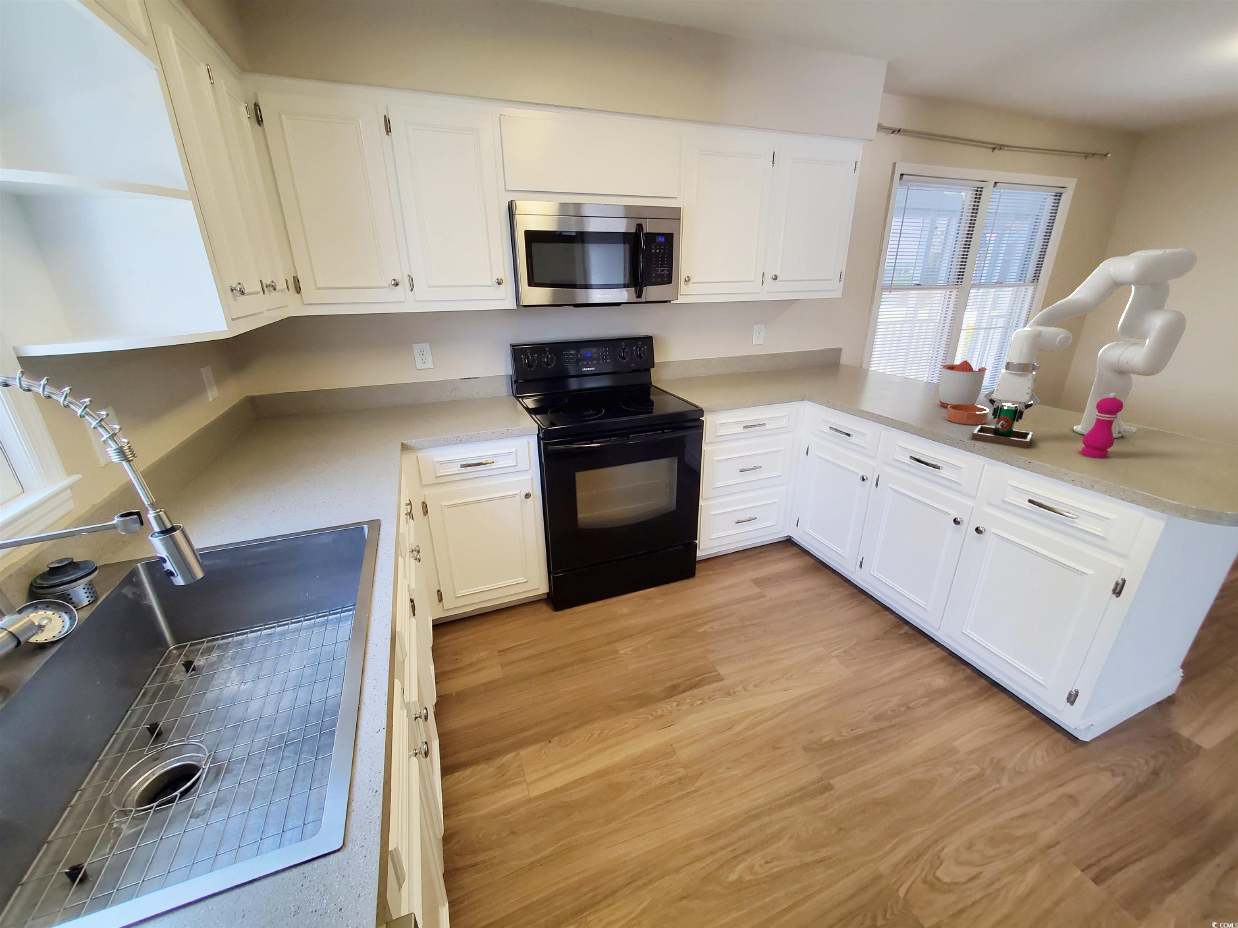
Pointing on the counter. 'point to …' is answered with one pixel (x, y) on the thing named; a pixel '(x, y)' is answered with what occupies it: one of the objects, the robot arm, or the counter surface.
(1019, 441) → the tray
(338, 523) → the counter surface
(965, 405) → the bowl
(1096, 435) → the pepper mill
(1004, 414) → the soda can
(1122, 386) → the robot arm
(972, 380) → the citrus juicer
